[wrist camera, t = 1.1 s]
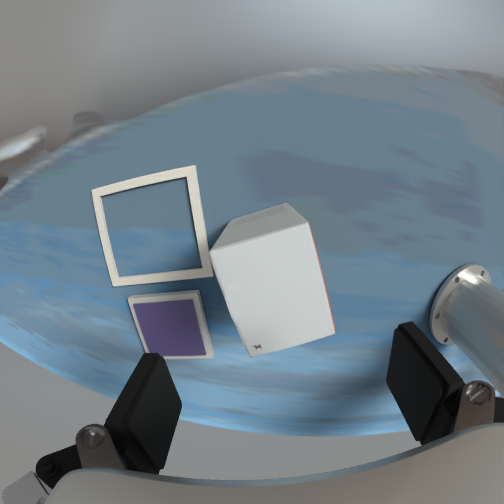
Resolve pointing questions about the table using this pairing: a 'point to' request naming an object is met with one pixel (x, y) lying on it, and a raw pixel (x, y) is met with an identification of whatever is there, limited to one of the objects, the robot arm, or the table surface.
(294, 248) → the small box
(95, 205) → the outlined square
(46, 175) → the table surface
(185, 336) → the ink pad
